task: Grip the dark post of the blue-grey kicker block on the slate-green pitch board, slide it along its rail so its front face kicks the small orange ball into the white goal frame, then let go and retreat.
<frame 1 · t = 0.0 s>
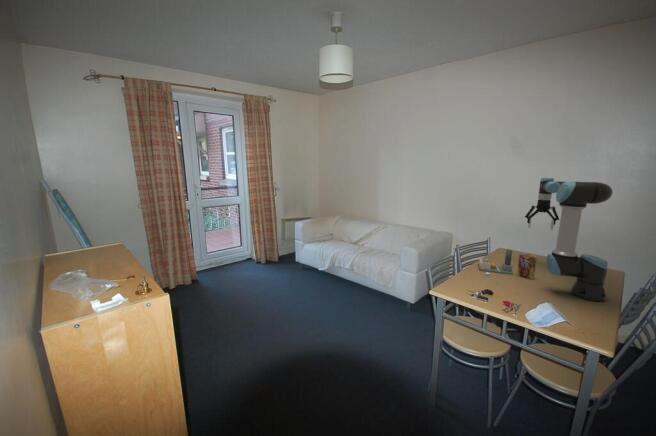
hand: (540, 228, 212), 28 cm above the table, fingers open, 13 cm apart
kicker: (508, 259, 203), point 8 cm above the table, slide at 0.0 cm
pitch: (494, 269, 207), on the table
candy box: (525, 277, 195), on the table
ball: (493, 265, 207), point 3 cm above the table, touching pitch
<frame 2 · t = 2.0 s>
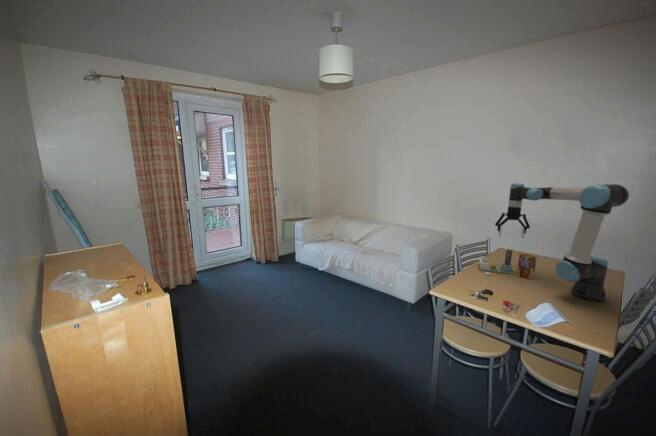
hand: (510, 236, 200), 25 cm above the table, fingers open, 13 cm apart
nothing on the table moved.
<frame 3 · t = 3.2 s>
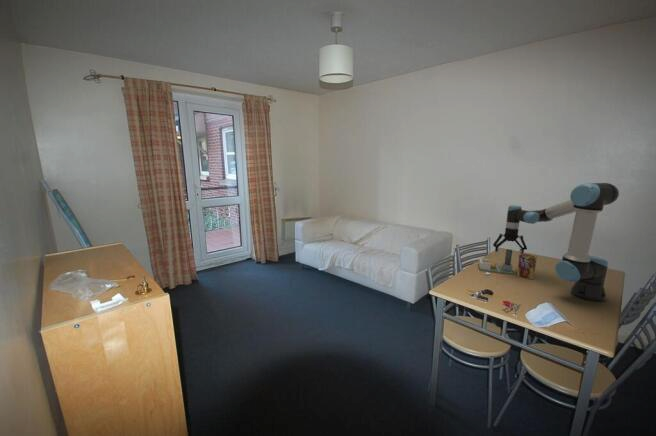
hand: (508, 257, 203), 10 cm above the table, fingers open, 13 cm apart
nothing on the table moved.
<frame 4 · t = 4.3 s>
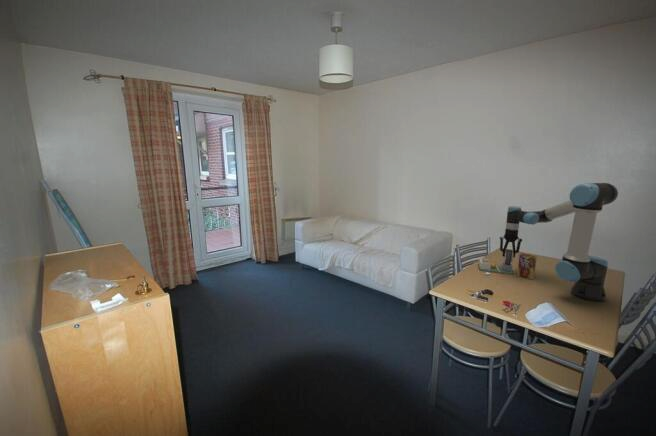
hand: (507, 261, 203), 7 cm above the table, fingers closed on kicker, 4 cm apart
kicker: (508, 259, 203), point 8 cm above the table, slide at 0.0 cm, touching gripper
everything else where it was.
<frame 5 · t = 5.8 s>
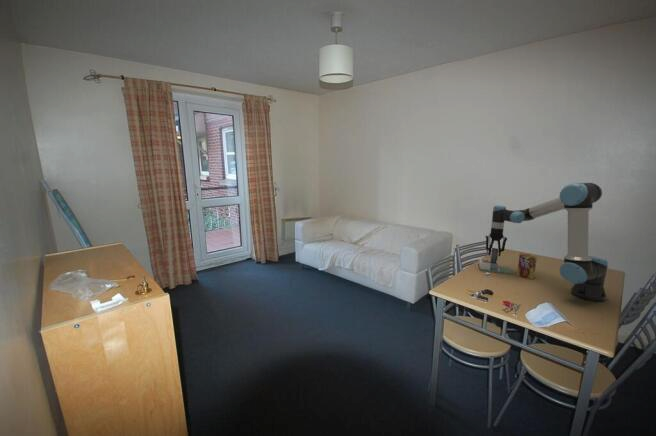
hand: (493, 259, 206), 7 cm above the table, fingers closed on kicker, 4 cm apart
kicker: (493, 258, 206), point 8 cm above the table, slide at 8.8 cm, touching gripper
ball: (484, 264, 209), point 3 cm above the table, tilted 179°, touching pitch
everything else where it was.
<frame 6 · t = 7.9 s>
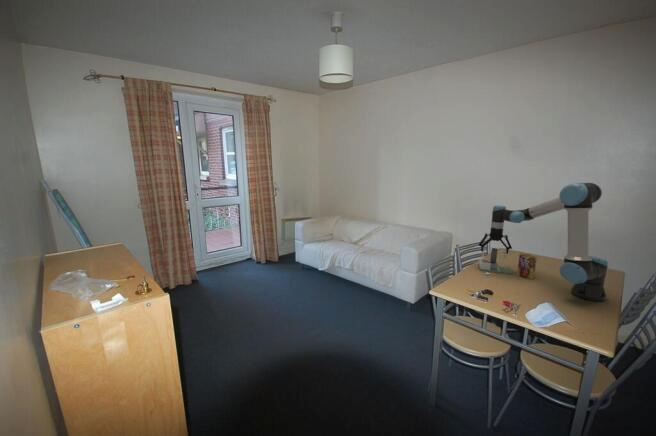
hand: (493, 256, 206), 9 cm above the table, fingers open, 13 cm apart
kicker: (493, 258, 206), point 8 cm above the table, slide at 9.0 cm
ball: (485, 264, 209), point 3 cm above the table, tilted 147°, touching pitch
everything else where it was.
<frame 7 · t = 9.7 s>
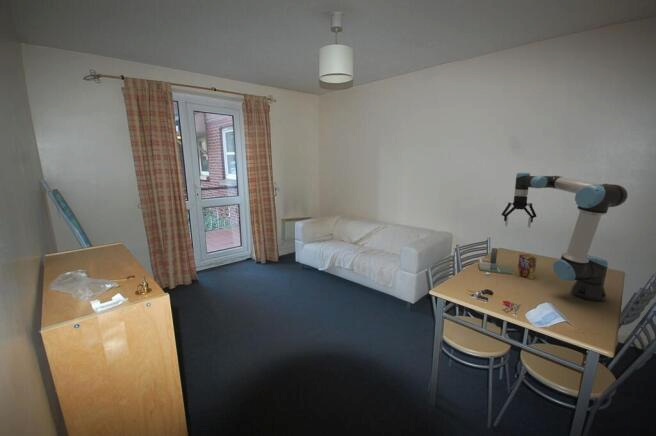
hand: (517, 226, 200), 32 cm above the table, fingers open, 13 cm apart
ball: (485, 264, 209), point 3 cm above the table, tilted 152°, touching pitch
everything else where it was.
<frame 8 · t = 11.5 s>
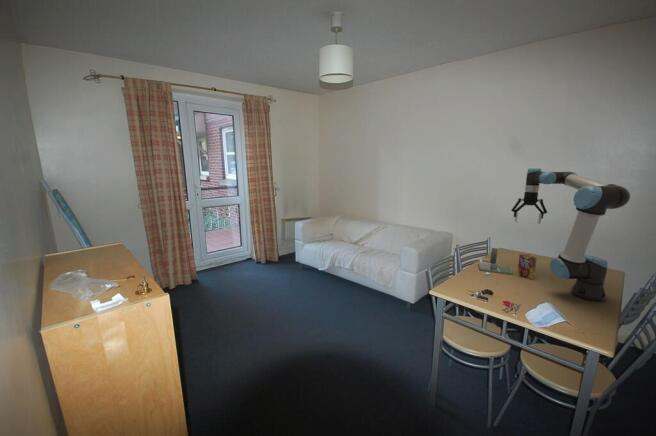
hand: (527, 222, 199), 35 cm above the table, fingers open, 13 cm apart
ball: (485, 264, 209), point 3 cm above the table, tilted 157°, touching pitch
everything else where it was.
at the end: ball inside the target area on the pitch (0.7 cm from its centre), point 2.8 cm above the pitch's base; kicker slide at 9.0 cm; the gripper is holding nothing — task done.
